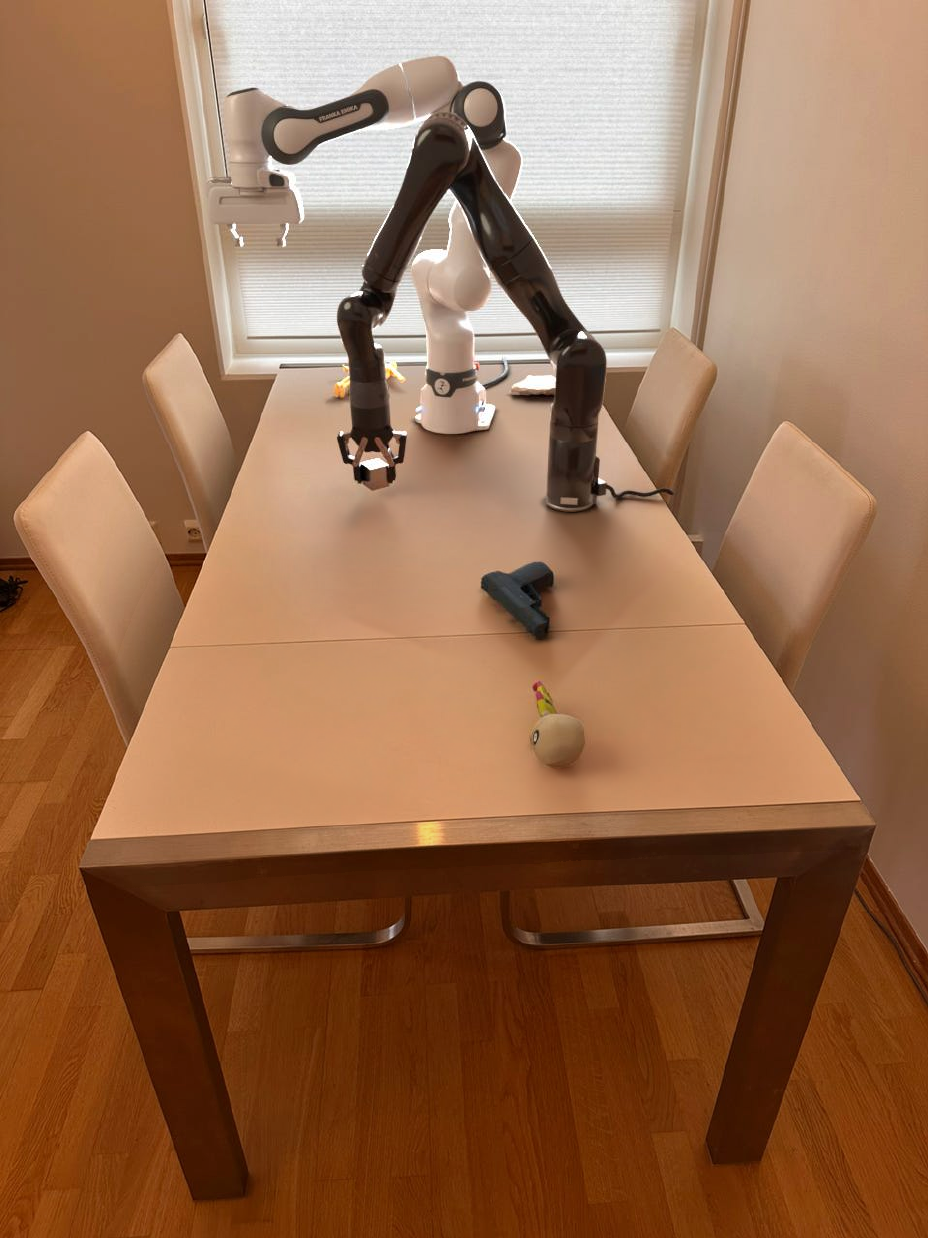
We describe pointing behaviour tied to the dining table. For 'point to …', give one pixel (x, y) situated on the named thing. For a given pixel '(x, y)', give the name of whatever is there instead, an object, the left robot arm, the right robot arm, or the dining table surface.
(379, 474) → the block
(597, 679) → the dining table surface
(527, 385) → the stone
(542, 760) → the toy
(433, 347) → the left robot arm
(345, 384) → the human figure
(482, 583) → the handgun
